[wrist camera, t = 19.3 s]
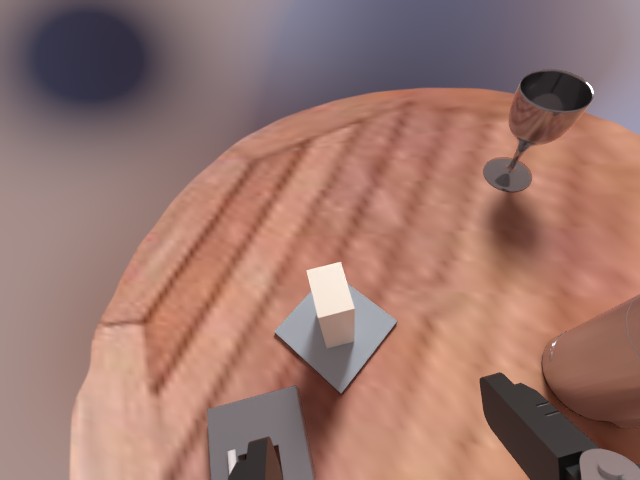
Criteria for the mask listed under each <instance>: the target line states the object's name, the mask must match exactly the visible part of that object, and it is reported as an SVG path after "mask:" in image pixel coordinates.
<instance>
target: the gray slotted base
mask: <svg viewBox="0 0 640 480" xmlns="http://www.w3.org/2000/svg"><path fill="white" fill-rule="evenodd" d="M207 419H208V436H209V453H210V470H211V480H228V477H229V475H230V473H231V471H232V469H233V468H234V466H235V464H236V462H239V461H243V460H245V458H244V455H246V454H247V449H248V443H249V442H250V441H254V440H257V439H261V438H264V437H268V436H269V437H270V438H271V440H272V443H273V447H275V446H279V452H280V459H281V466H282V472H283V479H284V480H316V477H315V472H314V466H313V461H312V456H311V451H310V446H309V440H308V435H307V430H306V425H305V420H304V414H303V409H302V404H301V399H300V393H299V388H298V387H297V386H292V387H288V388H284V389H280V390H277V391H273V392H269V393H266V394H262V395H258V396H255V397H251V398H247V399H244V400H240V401H236V402H233V403H229V404H225V405H222V406H218V407H214V408H211V409H207Z"/></svg>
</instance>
